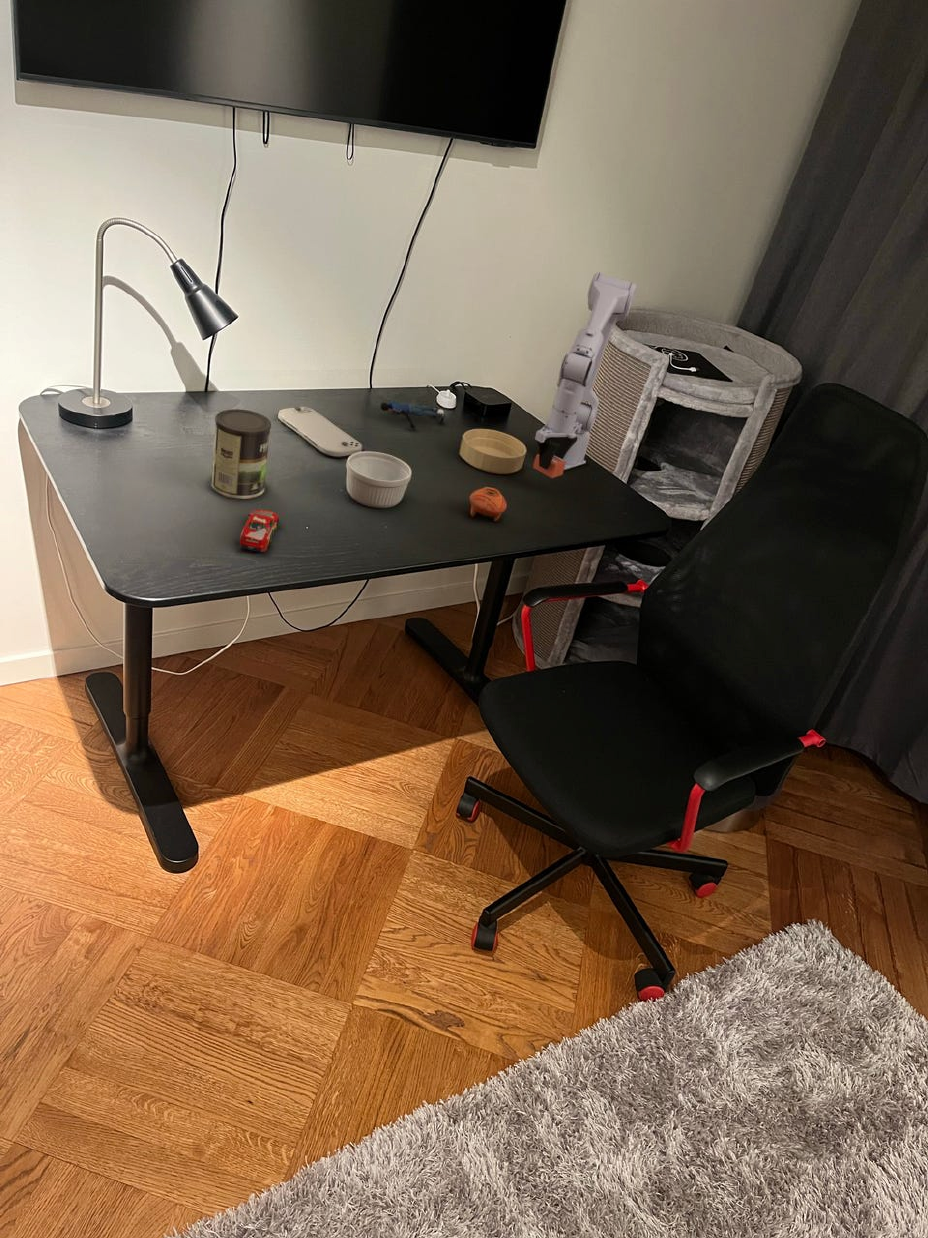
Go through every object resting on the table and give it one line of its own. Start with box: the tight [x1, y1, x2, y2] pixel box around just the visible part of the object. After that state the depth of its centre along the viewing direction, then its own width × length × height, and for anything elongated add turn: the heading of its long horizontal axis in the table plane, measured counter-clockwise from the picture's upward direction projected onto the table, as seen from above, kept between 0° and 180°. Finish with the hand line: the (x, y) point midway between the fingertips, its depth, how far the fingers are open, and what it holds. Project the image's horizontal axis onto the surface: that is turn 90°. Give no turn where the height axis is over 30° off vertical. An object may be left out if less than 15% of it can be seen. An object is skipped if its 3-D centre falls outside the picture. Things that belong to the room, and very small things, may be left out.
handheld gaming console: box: [277, 406, 364, 459], centre depth 205 cm, size 23×3×10 cm
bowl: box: [459, 428, 527, 475], centre depth 214 cm, size 15×15×4 cm
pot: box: [469, 486, 508, 522], centre depth 190 cm, size 8×8×7 cm
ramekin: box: [345, 450, 412, 509], centre depth 186 cm, size 13×13×7 cm
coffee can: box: [210, 408, 272, 500], centre depth 175 cm, size 10×10×14 cm
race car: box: [238, 509, 280, 553], centre depth 165 cm, size 13×5×4 cm, turn 177°
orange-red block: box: [532, 453, 566, 479], centre depth 205 cm, size 4×6×4 cm
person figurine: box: [379, 400, 446, 431], centre depth 224 cm, size 11×4×18 cm
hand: (549, 465), depth 205 cm, fingers closed on orange-red block, 4 cm apart
